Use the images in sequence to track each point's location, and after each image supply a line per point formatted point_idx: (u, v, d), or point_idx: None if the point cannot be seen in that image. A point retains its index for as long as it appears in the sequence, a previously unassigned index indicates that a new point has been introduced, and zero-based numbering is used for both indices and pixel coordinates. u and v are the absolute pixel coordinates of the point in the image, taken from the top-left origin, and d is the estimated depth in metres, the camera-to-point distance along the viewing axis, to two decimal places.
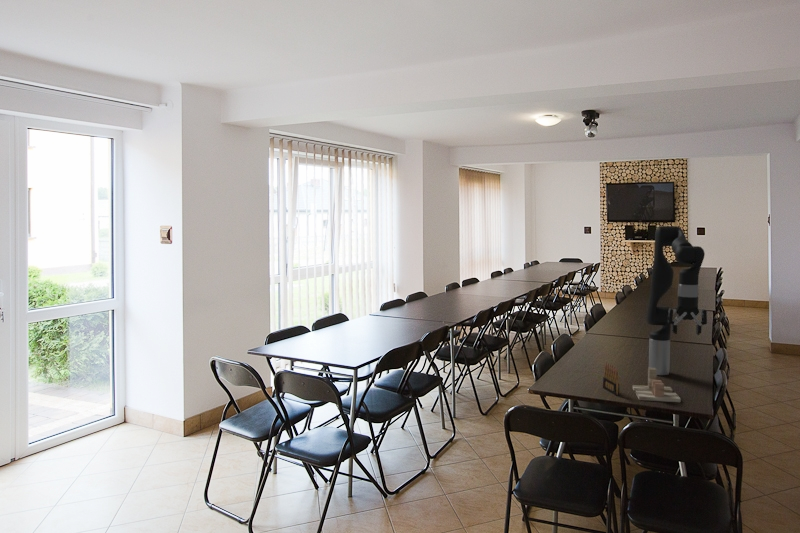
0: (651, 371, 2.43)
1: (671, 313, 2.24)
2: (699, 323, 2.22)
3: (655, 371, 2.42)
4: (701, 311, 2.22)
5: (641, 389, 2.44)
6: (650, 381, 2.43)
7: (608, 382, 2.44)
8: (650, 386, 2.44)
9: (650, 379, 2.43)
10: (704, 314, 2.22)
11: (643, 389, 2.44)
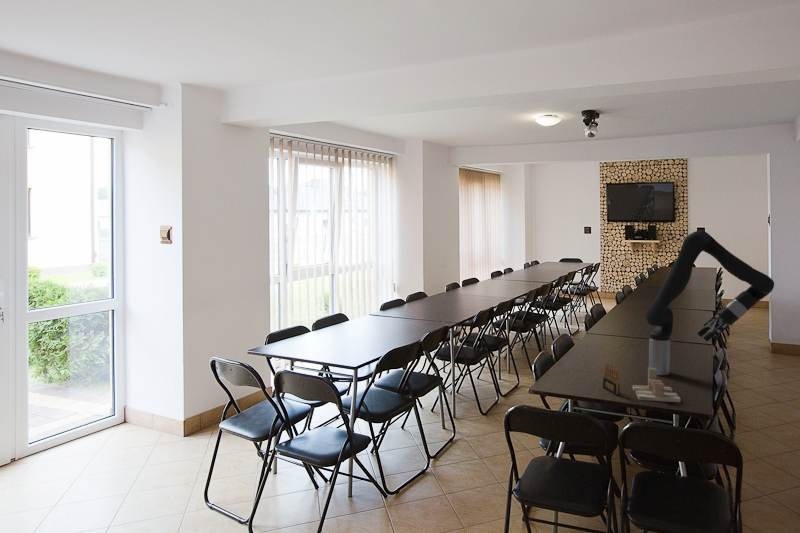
0: (651, 371, 2.43)
1: None
2: None
3: (655, 371, 2.42)
4: None
5: (641, 389, 2.44)
6: (650, 381, 2.43)
7: (608, 382, 2.44)
8: (650, 386, 2.44)
9: (650, 379, 2.43)
10: None
11: (643, 389, 2.44)
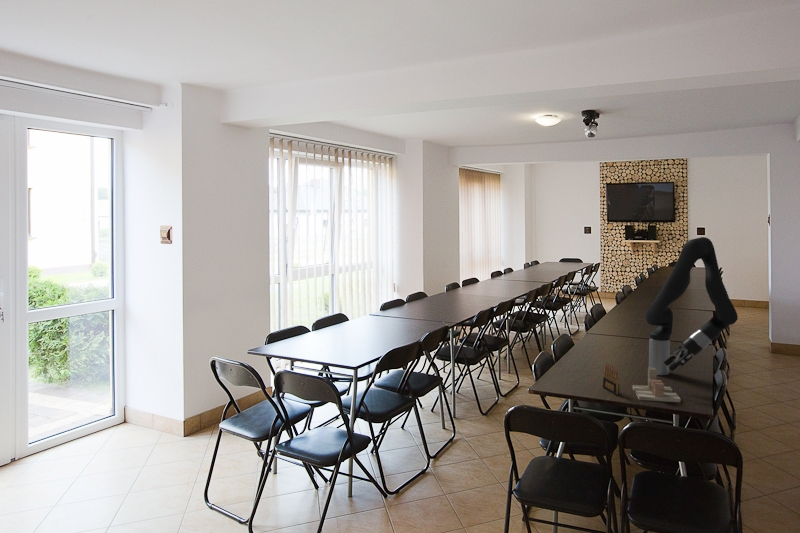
0: (651, 371, 2.43)
1: None
2: None
3: (655, 371, 2.42)
4: None
5: (641, 389, 2.44)
6: (650, 381, 2.43)
7: (608, 382, 2.44)
8: (650, 386, 2.44)
9: (650, 379, 2.43)
10: None
11: (643, 389, 2.44)
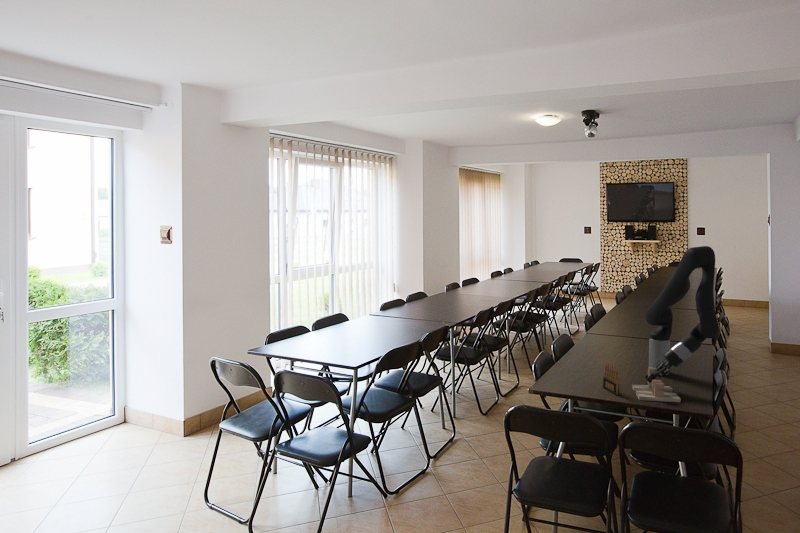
0: (651, 371, 2.43)
1: None
2: None
3: None
4: None
5: (641, 389, 2.44)
6: None
7: (608, 382, 2.44)
8: (650, 386, 2.44)
9: None
10: None
11: (643, 389, 2.44)
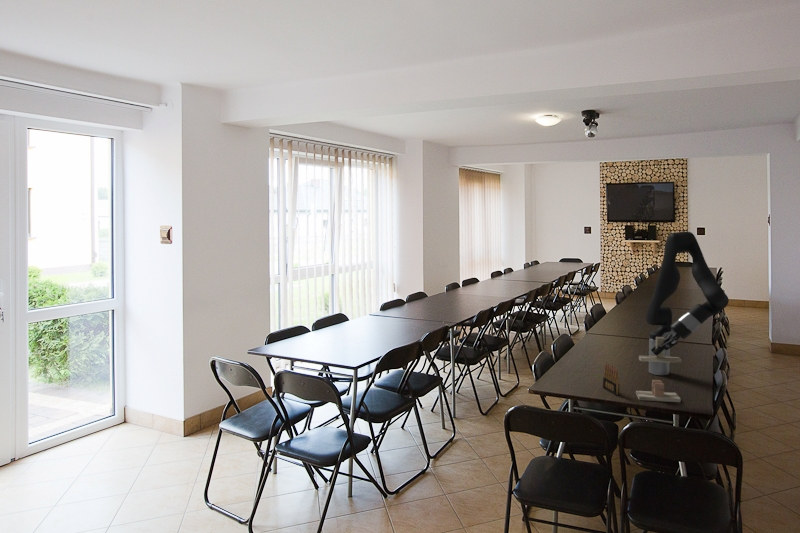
0: (659, 340, 2.31)
1: None
2: None
3: None
4: None
5: (648, 359, 2.32)
6: None
7: (608, 382, 2.44)
8: (658, 356, 2.31)
9: None
10: None
11: (650, 359, 2.32)
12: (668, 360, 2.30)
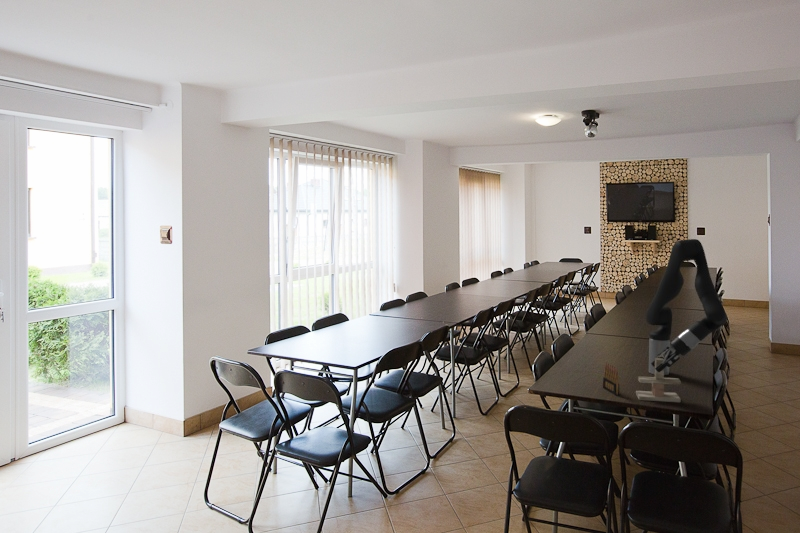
0: (658, 361, 2.31)
1: None
2: None
3: (662, 361, 2.31)
4: None
5: (647, 380, 2.33)
6: (657, 372, 2.32)
7: (608, 382, 2.44)
8: (657, 377, 2.32)
9: None
10: None
11: (650, 380, 2.33)
12: (667, 381, 2.31)
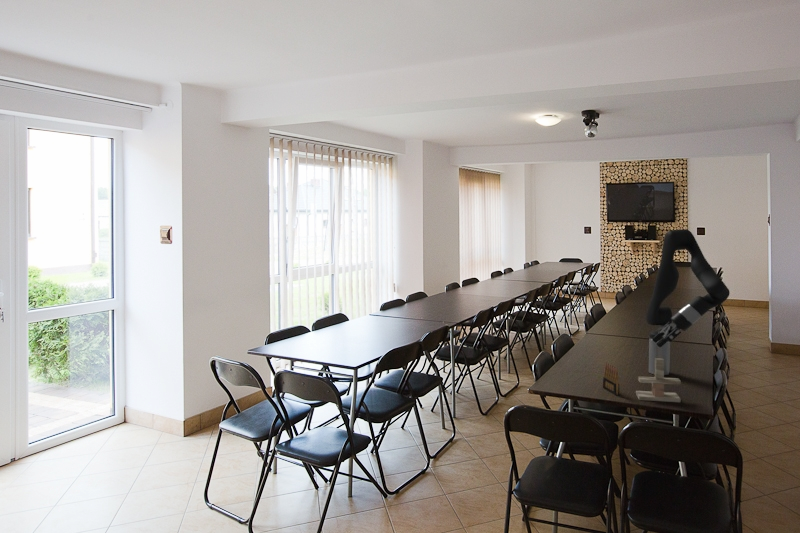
0: (658, 361, 2.31)
1: None
2: None
3: (662, 361, 2.31)
4: None
5: (647, 380, 2.33)
6: (657, 372, 2.32)
7: (608, 382, 2.44)
8: (657, 377, 2.32)
9: (657, 370, 2.32)
10: None
11: (650, 380, 2.33)
12: (667, 381, 2.31)
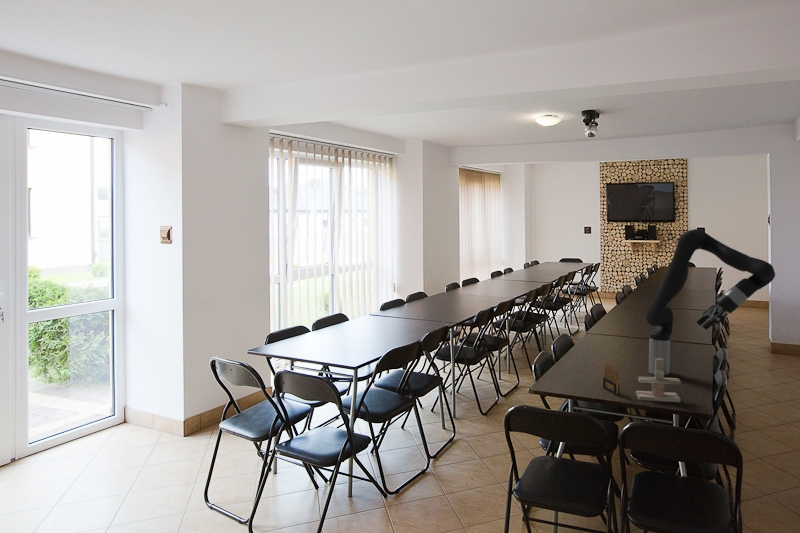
0: (658, 361, 2.31)
1: None
2: None
3: (662, 361, 2.31)
4: None
5: (647, 380, 2.33)
6: (657, 372, 2.32)
7: (608, 382, 2.44)
8: (657, 377, 2.32)
9: (657, 370, 2.32)
10: None
11: (650, 380, 2.33)
12: (667, 381, 2.31)
